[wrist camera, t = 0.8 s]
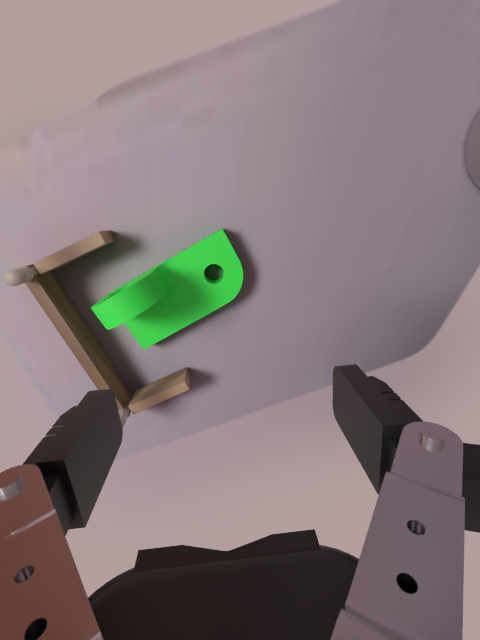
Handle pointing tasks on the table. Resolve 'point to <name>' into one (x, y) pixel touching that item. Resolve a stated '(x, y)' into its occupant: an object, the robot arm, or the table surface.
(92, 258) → the table surface
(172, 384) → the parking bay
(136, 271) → the table surface
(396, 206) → the table surface
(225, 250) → the mechanical part
